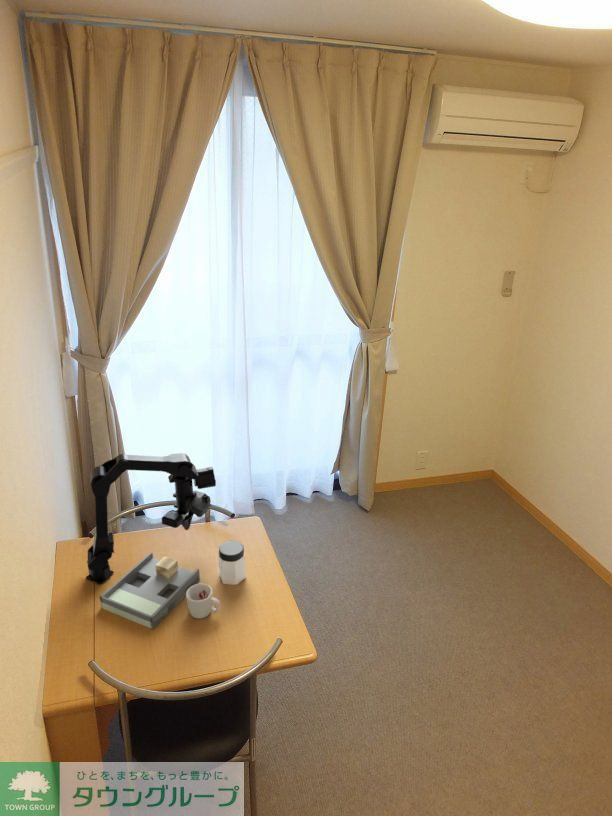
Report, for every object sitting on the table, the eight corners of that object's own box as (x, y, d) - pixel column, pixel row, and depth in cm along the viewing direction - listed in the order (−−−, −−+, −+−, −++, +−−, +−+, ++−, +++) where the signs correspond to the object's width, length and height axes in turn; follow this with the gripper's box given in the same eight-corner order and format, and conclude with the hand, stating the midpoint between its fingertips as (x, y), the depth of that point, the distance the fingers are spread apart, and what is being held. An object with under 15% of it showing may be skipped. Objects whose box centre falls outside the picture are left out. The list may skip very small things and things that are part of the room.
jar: (217, 571, 186) (215, 542, 181) (240, 565, 189) (239, 537, 184) (224, 588, 179) (222, 558, 174) (247, 582, 181) (247, 552, 177)
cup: (226, 609, 170) (225, 589, 167) (214, 627, 163) (212, 606, 160) (195, 600, 173) (194, 580, 170) (182, 617, 166) (180, 597, 163)
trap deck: (101, 608, 169) (99, 596, 167) (151, 562, 189) (150, 552, 188) (153, 629, 162) (151, 617, 160) (199, 579, 182) (199, 569, 180)
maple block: (156, 574, 180) (155, 564, 179) (166, 565, 184) (165, 556, 183) (168, 579, 178) (167, 569, 177) (178, 569, 183) (177, 560, 181)
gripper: (187, 510, 171) (190, 551, 177) (220, 482, 186) (221, 521, 193) (158, 501, 175) (162, 541, 181) (192, 475, 191) (195, 513, 197)
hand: (187, 529), depth 188 cm, fingers closed
